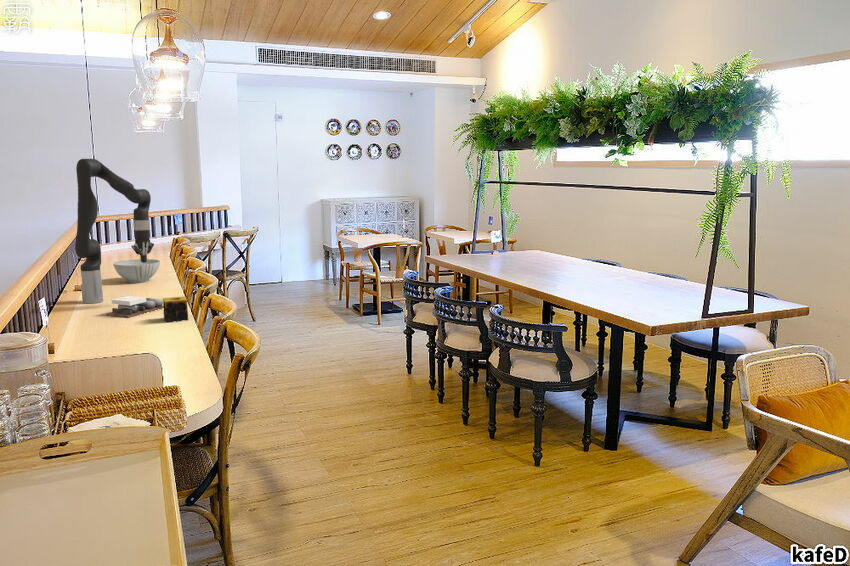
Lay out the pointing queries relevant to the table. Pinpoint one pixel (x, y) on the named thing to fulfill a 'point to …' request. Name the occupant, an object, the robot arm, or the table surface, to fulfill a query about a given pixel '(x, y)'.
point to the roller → (130, 307)
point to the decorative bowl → (137, 269)
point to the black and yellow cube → (175, 309)
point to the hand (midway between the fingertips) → (143, 262)
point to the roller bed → (144, 308)
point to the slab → (128, 300)
